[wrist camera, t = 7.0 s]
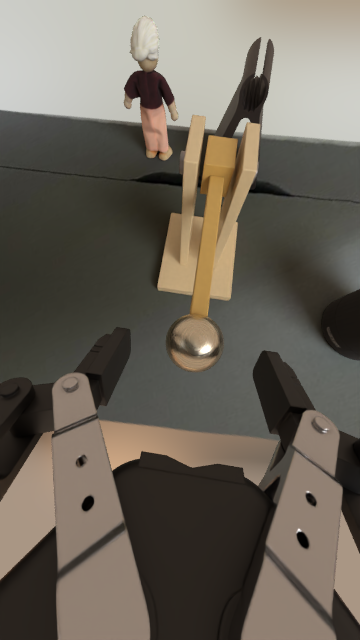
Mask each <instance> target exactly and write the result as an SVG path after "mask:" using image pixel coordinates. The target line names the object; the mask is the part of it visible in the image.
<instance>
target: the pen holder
mask: <svg viewBox="0 0 360 640" xmlns="http://www.w3.org/2000/svg"><path fill="white" fill-rule="evenodd" d="M322 329H323V333H324V335H325V338H326V339H327V341H328V342H329V344H330V345H331V346H332V347H333V348H334V349H335V350H336V351H337V352H338V353H340V354H341V355H343V356H345V357H347V358H350V359H353V360H360V289H359V290H357V291H355V292H352V293H350V294H348V295H346V296H344V297H341V298H339V299H337V300H335V301H334V302H332V303H331V304H330V305H329V306H328V307H327V308H326V310H325V312H324V314H323V318H322Z"/></svg>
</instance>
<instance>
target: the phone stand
mask: <svg viewBox="0 0 360 640" xmlns="http://www.w3.org/2000/svg"><path fill="white" fill-rule="evenodd" d="M260 42H261V37H260V38H259V39H257V40H256V41H255V42H254V43H253V44H252V46H251V47H250V49H249V52H248V54H247V58H246V63H245V68H244V73H243V77H242V80H241V82H240V84H239V86H238V88H237V90H236V92H235V94H234V96H233V98H232V100H231V102H230V104H229V106H228V108H227V110H226V113H225V114H224V117H223V119H222V121H221V123H220V125H219V127H218V129H217V131H216V133H215V135H214V136H218V137H225V138H232V136H233V134H234V132H235V130H236V128H237V126H238V124H239V122H240V120H241V119H243V118H248V119H249V120H250V122H251V123H256V124H260V135H259V149H258V162H259V157H260V143H261V129H262V116H263V105H264V102H265V100H266V98H267V95H268V89H269V83H270V76H271V70H272V62H273V56H274V47H273V43H272V41H271V40H270V39H269V41H268V43H267V50H266V55H265V61H264V68H263V74H261V76H260V77H258V76H256V77H255V71H256V66H257V60H258V55H259V49H260ZM254 77H255V78H254ZM236 158H237V156H236ZM235 161H236V160H235ZM204 162H205V161H204ZM203 169H204V166H203ZM202 176H203V170H202V174H201V180H202ZM256 179H257V175H256V178H255V180H254V182H253V184H251V186H250V189H251V190H253V189H255V185H256Z"/></svg>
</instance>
